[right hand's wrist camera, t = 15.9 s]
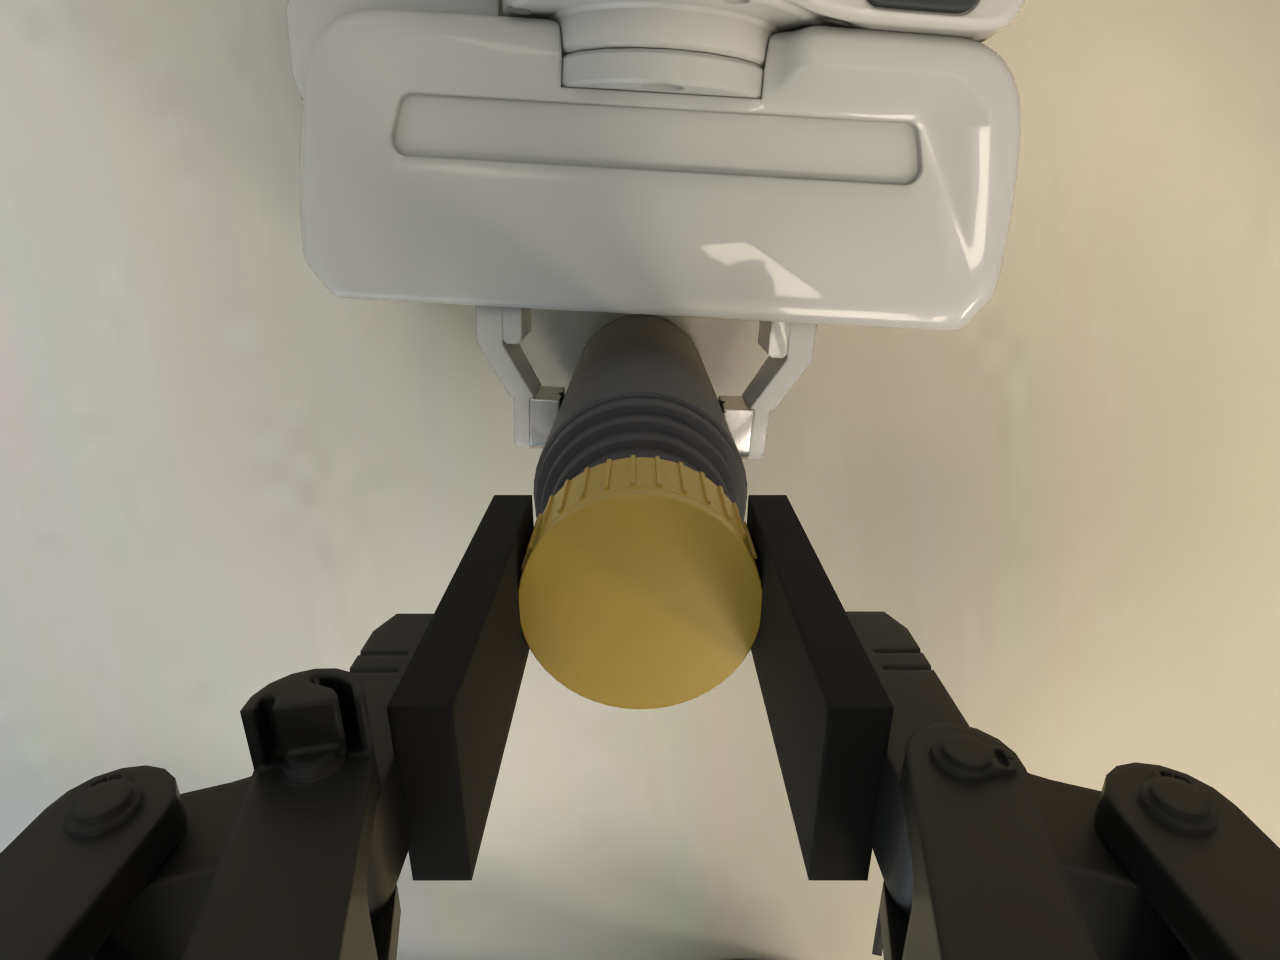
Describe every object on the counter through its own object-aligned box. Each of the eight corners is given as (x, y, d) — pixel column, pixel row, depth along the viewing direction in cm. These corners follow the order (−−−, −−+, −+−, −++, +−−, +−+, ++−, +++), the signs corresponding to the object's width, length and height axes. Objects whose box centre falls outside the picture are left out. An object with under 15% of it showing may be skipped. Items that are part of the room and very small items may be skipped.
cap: (778, 610, 15) (798, 668, 13) (582, 675, 16) (574, 740, 14) (707, 419, 14) (718, 453, 12) (493, 500, 14) (470, 545, 12)
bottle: (721, 413, 31) (820, 665, 14) (606, 457, 31) (565, 748, 14) (677, 294, 29) (730, 416, 12) (556, 343, 29) (445, 523, 13)
